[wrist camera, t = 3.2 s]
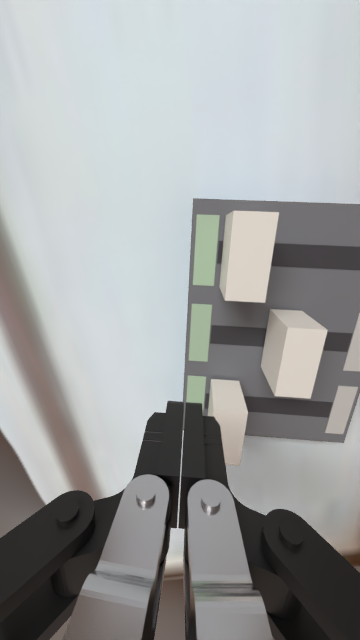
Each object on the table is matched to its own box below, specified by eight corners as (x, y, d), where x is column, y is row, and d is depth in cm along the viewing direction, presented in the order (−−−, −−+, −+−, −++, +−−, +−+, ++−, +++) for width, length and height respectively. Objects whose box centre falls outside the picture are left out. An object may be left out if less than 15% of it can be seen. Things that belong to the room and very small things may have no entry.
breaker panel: (387, 210, 20) (420, 206, 17) (327, 419, 26) (343, 443, 23) (193, 203, 20) (193, 198, 17) (183, 409, 27) (181, 430, 24)
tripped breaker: (302, 310, 19) (327, 329, 15) (290, 368, 21) (310, 398, 17) (270, 309, 19) (287, 327, 16) (260, 366, 21) (274, 396, 17)
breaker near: (261, 216, 17) (279, 212, 13) (251, 288, 19) (265, 302, 15) (225, 215, 17) (233, 210, 14) (219, 286, 19) (224, 300, 15)
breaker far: (239, 380, 22) (248, 412, 18) (232, 427, 23) (239, 465, 19) (210, 378, 22) (213, 409, 18) (206, 425, 23) (208, 463, 20)
